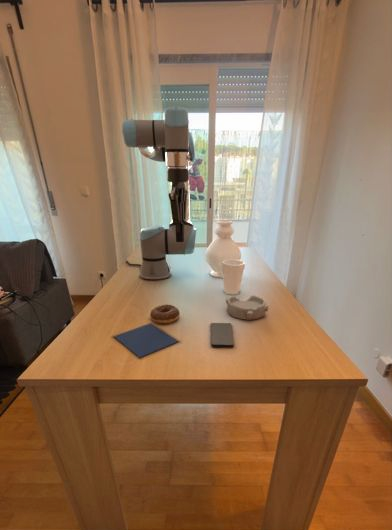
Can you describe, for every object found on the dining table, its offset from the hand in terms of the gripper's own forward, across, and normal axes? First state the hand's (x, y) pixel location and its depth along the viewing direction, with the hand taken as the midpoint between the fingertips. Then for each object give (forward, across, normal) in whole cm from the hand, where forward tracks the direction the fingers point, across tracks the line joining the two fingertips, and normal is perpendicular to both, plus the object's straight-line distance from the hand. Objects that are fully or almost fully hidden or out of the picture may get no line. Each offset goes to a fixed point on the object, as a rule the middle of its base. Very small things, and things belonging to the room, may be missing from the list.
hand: (180, 241), depth 107 cm
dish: (+22, -8, -29) cm, 37 cm away
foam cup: (+23, +12, -19) cm, 32 cm away
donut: (+22, -21, -2) cm, 31 cm away
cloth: (+22, -37, -1) cm, 43 cm away
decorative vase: (+24, +36, -9) cm, 44 cm away
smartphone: (+22, -27, -24) cm, 42 cm away
